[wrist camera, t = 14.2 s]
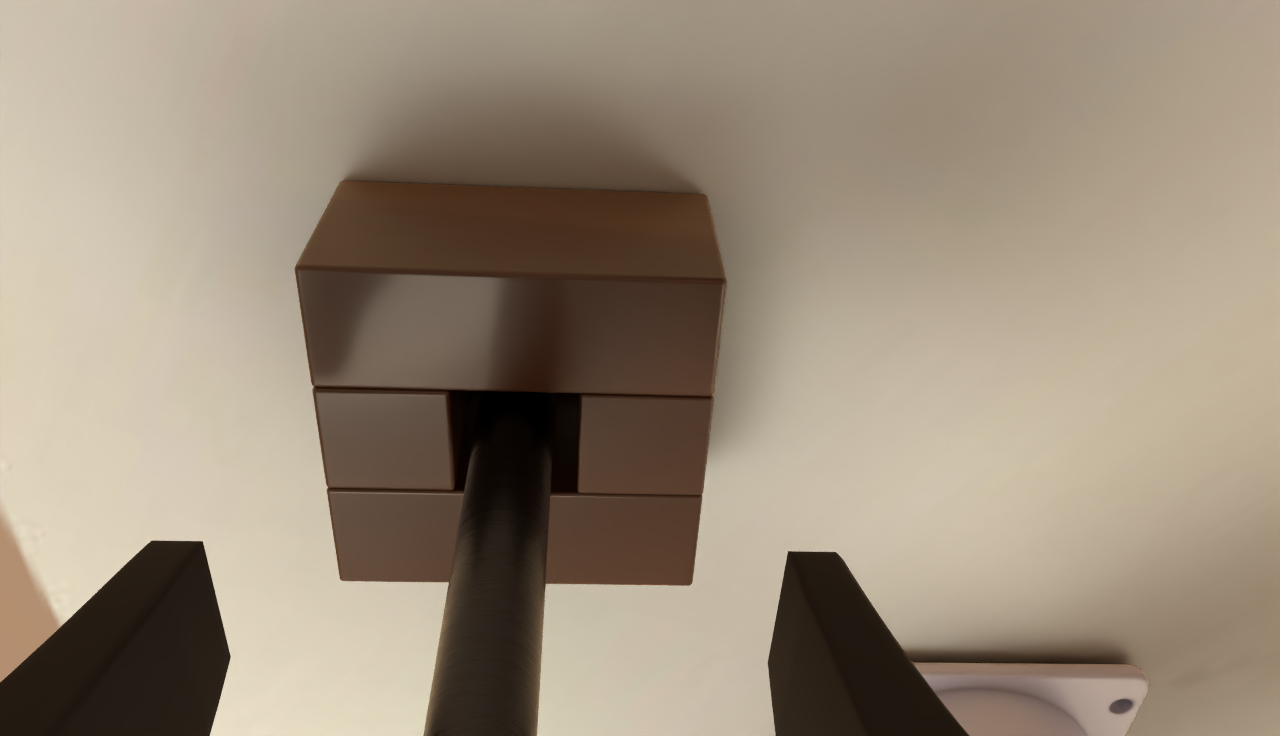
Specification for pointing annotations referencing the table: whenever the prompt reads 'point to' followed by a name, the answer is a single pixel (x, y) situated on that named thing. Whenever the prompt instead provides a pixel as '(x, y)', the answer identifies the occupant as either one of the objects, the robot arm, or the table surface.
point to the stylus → (498, 575)
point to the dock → (514, 367)
